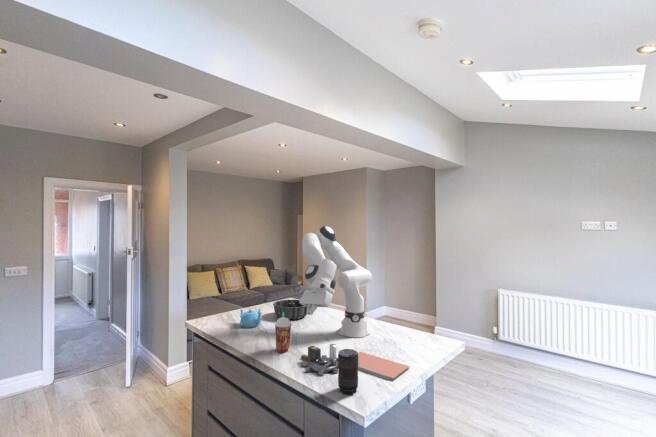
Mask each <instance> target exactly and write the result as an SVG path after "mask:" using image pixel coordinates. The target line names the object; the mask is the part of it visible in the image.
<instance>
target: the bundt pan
mask: <svg viewBox="0 0 656 437" xmlns="http://www.w3.org/2000/svg"><path fill="white" fill-rule="evenodd" d="M272 305H273V310H274V315H275V316H276V317H277V318H278V319H279V318H281V317H283V312H284V317H286V318H288V319H289V321H290V320H293V321H294V320H300V319H304V318H306V316H307V315H308V314H307V313H306V312H307V306H303V305H301V304H300V299H281V300H275V301H274V302H273V304H272Z"/></svg>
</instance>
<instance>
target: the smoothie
mask: <svg viewBox="0 0 656 437" xmlns="http://www.w3.org/2000/svg"><path fill="white" fill-rule="evenodd" d="M274 327H275V328H274V332H275V349H276V351H277V353H280V354H281V353H287V352H289V350H290V343H291V333H292V332H291V329H292V323H291V321H290V320H289V319H288V318H286V317H284V312H283V317H281V318H279V317H278V319H277V320H276V322H275V323H274Z"/></svg>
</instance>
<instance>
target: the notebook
mask: <svg viewBox="0 0 656 437" xmlns="http://www.w3.org/2000/svg"><path fill="white" fill-rule="evenodd" d="M357 352H358V371H360V372H364V373H365V374H369V375H371V376H375V377H378V378H379V379H380V378H381V379H382V380H386V381H392V382H393V381H395V380H396V379H397V378H399V377H400V376H401V375H403V374H404V373H405V372H406V371H408V370H409V368H410V365H407V364H403V363H401V362H397V361H393V360H389V359H387V358H383V357H380V356H376V355H373V354H370V353H367V352H363V351H357Z"/></svg>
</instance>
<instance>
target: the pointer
mask: <svg viewBox="0 0 656 437" xmlns="http://www.w3.org/2000/svg"><path fill="white" fill-rule="evenodd" d="M300 358H301V359H302V360H303V361H309V358H308V354H307V355H306V354H305V353H304V354H301V355H300Z"/></svg>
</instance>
